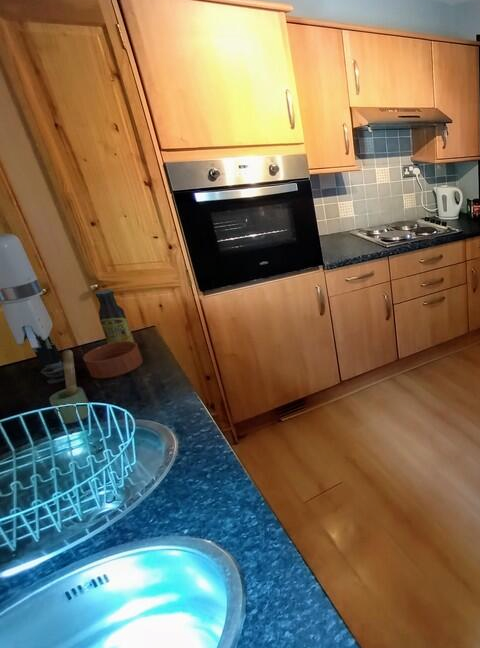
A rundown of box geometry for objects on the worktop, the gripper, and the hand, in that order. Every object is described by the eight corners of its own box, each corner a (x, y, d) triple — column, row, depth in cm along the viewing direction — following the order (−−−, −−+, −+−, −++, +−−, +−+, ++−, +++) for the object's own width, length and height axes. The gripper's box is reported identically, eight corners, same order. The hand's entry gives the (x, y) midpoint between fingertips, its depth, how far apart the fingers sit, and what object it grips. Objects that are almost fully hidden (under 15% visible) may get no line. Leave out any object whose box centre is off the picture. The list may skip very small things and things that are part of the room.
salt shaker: (73, 370, 132) (56, 334, 128) (74, 378, 129) (57, 341, 124) (45, 378, 129) (27, 341, 124) (46, 386, 125) (27, 348, 120)
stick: (69, 418, 111) (61, 352, 106) (70, 414, 113) (62, 349, 107) (79, 417, 112) (71, 351, 107) (80, 413, 114) (72, 348, 109)
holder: (59, 428, 109) (47, 404, 106) (62, 415, 113) (51, 392, 111) (91, 419, 112) (81, 395, 109) (94, 406, 117) (83, 384, 114)
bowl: (88, 384, 126) (80, 366, 123) (92, 366, 135) (85, 348, 132) (143, 371, 132) (136, 353, 130) (143, 354, 141) (137, 337, 139)
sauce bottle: (108, 355, 141) (84, 296, 132) (114, 346, 146) (92, 289, 138) (133, 351, 143) (111, 293, 135) (139, 342, 148) (118, 286, 140)
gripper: (1, 284, 103) (36, 354, 110) (-17, 306, 91) (23, 382, 99) (46, 277, 107) (76, 345, 114) (34, 297, 95) (68, 371, 103)
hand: (51, 362), depth 106 cm, fingers closed
